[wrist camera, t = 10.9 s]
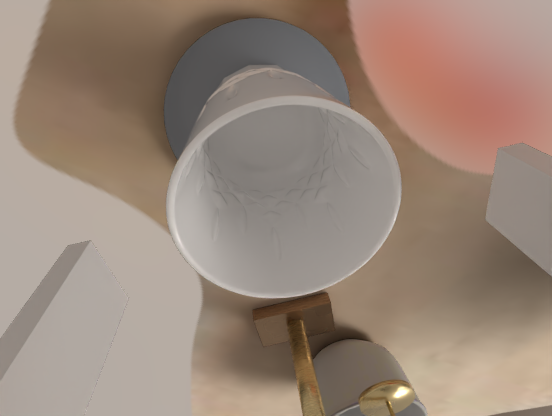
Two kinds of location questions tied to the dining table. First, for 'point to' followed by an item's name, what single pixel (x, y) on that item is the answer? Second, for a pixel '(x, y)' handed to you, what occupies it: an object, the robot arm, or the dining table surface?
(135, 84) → the dining table surface
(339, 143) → the white cup
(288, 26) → the dish
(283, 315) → the balance
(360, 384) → the teacup
